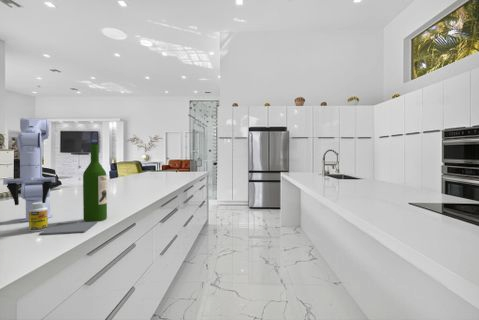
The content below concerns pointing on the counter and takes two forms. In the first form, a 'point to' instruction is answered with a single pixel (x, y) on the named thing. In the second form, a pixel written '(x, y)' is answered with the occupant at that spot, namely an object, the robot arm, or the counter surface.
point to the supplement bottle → (38, 217)
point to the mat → (68, 228)
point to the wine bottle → (94, 189)
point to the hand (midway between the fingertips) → (30, 203)
